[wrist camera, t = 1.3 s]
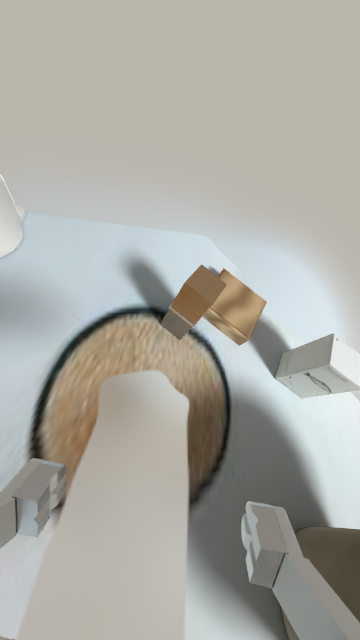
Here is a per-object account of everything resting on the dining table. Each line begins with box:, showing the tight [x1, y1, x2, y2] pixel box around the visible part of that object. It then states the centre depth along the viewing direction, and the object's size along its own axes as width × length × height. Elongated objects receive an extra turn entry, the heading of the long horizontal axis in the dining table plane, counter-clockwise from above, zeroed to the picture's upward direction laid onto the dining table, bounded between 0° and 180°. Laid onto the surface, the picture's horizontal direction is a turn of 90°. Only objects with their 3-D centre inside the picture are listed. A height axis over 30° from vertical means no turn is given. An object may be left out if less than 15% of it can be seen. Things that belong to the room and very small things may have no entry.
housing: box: [160, 265, 227, 340], centre depth 37 cm, size 5×5×14 cm
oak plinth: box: [203, 269, 267, 345], centre depth 48 cm, size 13×13×3 cm
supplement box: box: [275, 334, 360, 398], centre depth 41 cm, size 7×7×13 cm
